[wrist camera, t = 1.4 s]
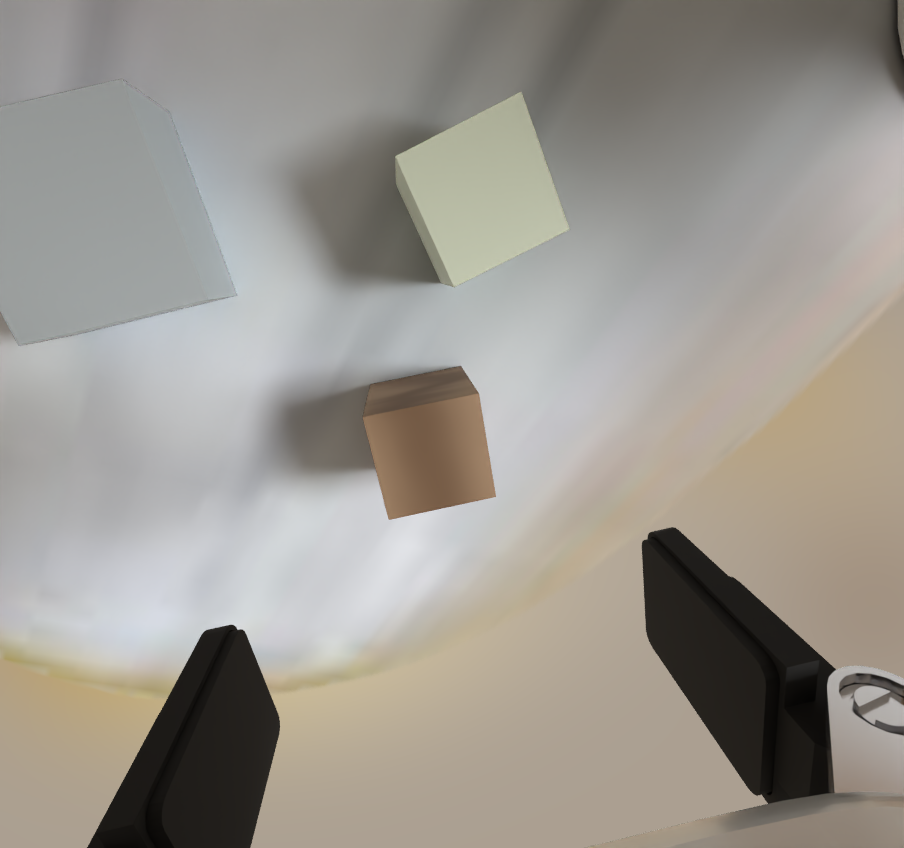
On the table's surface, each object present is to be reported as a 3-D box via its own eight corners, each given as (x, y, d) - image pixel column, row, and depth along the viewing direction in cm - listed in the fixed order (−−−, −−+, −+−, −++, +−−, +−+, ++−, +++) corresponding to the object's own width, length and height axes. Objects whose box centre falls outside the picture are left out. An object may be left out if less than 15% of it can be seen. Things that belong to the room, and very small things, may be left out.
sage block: (490, 136, 22) (521, 91, 17) (529, 239, 24) (569, 229, 18) (396, 184, 22) (395, 156, 17) (441, 283, 24) (454, 287, 18)
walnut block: (460, 365, 26) (478, 393, 20) (475, 449, 27) (495, 496, 22) (370, 384, 25) (362, 417, 20) (390, 467, 27) (388, 519, 21)
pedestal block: (172, 113, 21) (121, 78, 17) (239, 294, 23) (208, 299, 20) (-8, 155, 21) (-99, 129, 17) (80, 333, 23) (18, 346, 19)
